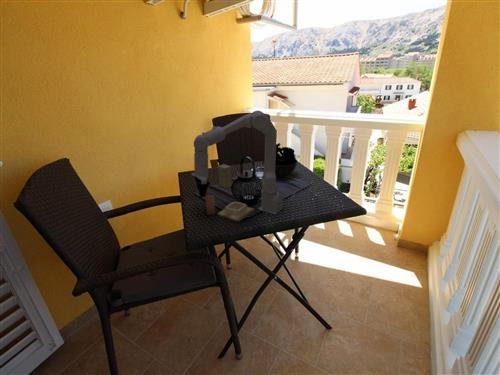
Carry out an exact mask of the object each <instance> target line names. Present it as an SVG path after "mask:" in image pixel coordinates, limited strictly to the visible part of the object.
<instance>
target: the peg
mask: <svg viewBox="0 0 500 375" xmlns="http://www.w3.org/2000/svg"><path fill="white" fill-rule="evenodd" d="M204 199H205V207H206V208H205V209H206V214H207V215H208V216H209V215H210V216H211V215H212V216H213V215H215V214H216V213H217V212H216V211H217V210H216V205H215V204H216V202H215V196H214V195H212V194H209V195H205V197H204Z"/></svg>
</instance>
